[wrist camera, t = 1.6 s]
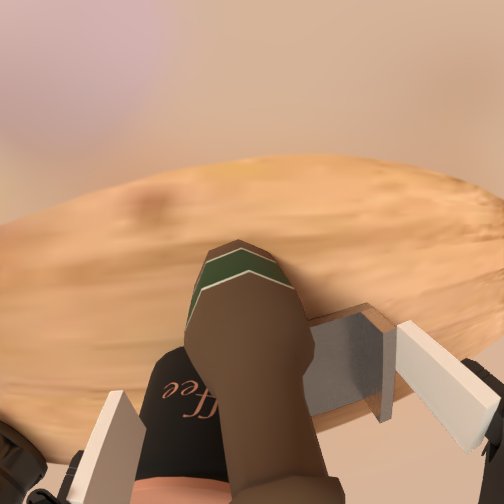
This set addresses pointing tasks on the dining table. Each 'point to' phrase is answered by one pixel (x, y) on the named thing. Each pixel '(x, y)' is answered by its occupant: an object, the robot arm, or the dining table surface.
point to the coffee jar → (180, 439)
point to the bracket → (352, 362)
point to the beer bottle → (258, 377)
